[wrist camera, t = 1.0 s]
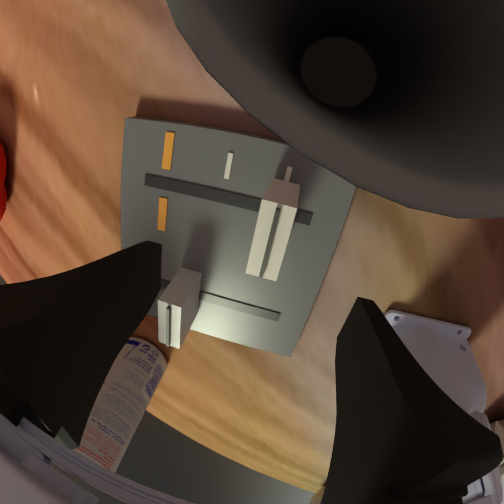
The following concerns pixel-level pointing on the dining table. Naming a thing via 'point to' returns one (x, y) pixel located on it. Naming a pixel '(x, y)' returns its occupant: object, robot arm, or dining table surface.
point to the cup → (370, 89)
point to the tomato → (2, 181)
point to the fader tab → (273, 229)
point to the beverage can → (122, 403)
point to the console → (226, 229)
